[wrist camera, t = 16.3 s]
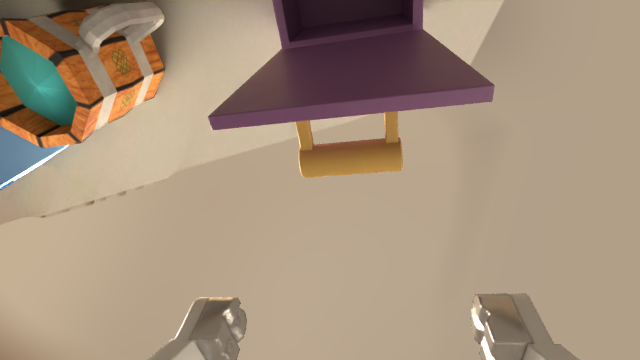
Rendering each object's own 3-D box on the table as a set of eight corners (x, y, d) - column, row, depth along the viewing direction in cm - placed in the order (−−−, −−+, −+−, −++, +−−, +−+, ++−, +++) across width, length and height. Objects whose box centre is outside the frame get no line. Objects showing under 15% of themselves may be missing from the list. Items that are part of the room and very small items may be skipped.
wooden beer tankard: (125, 119, 50) (48, 168, 38) (48, 40, 44) (-73, 67, 32) (215, 50, 43) (157, 83, 30) (138, -55, 37) (27, -67, 25)
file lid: (206, 116, 16) (236, 200, 19) (495, 84, 14) (481, 184, 17) (281, 49, 32) (291, 100, 35) (423, 28, 30) (422, 85, 32)
